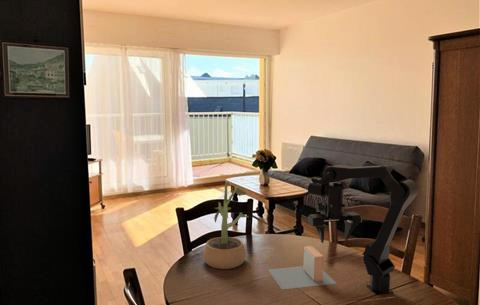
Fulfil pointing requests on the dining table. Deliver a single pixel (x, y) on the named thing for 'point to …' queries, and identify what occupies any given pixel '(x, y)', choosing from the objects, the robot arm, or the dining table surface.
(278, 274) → the mat
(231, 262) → the potted plant
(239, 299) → the dining table surface
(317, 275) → the tile
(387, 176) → the robot arm
